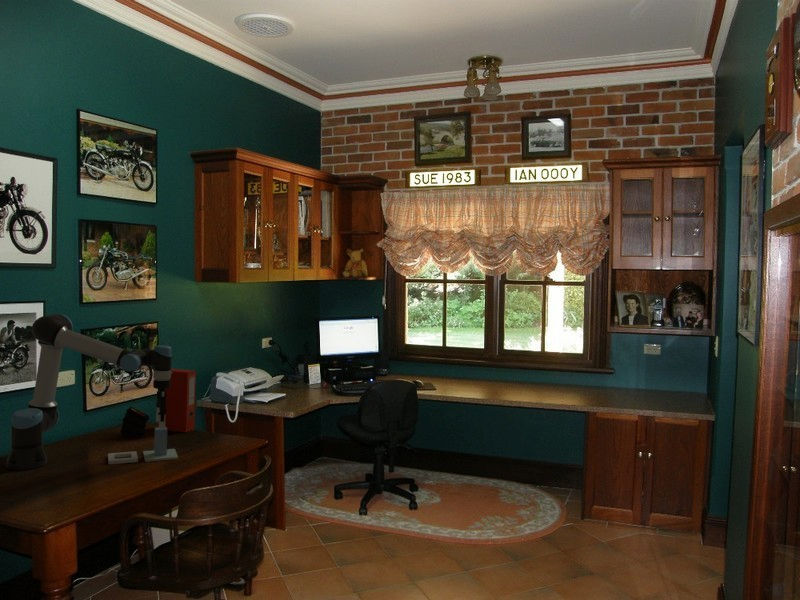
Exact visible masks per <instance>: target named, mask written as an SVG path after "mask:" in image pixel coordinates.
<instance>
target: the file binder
mask: <svg viewBox="0 0 800 600" xmlns="http://www.w3.org/2000/svg"><path fill="white" fill-rule="evenodd" d="M171 372H172V374H170V375H171V378H170V380H171V386H170V388H166V389H165V391H166V393H167V395H166V416H165V427H167V431H169V430H170V431H169V432H177V431H178V433H185V432H187V433H189V432H191V431H190V430H192V431H194V430H195V423H196V421H195V420H196V419H195V418H196V415H195V414H196V385H197V383H196V382H197V371H196V370H189V369H178V368H171ZM157 427H159V422H157ZM188 431H189V432H188Z"/></svg>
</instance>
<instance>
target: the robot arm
mask: <svg viewBox="0 0 800 600" xmlns="http://www.w3.org/2000/svg"><path fill="white" fill-rule="evenodd" d="M31 333H32V336H33V337H34V339H36V340H37V344H38V345H39V347H40V352H39V359H38V365H37V372H36V376H35V377H36V379H35V384H34V391H33V398H32V399H31V400H30V401H28V405H27V408H23V409H19V410H16V411H15V412H14V413H13V414H12V416H11V421H10V429H11V430H10V433H11V434H10V435H11V436H10V441H11V443H10V445H11V446H10V451H9V454H8V456H7V458H6V460H5V461H6V462H5V464H6V465H5V467H6V469H8V470H12V471H28V470H34V469H38V468H41V467H43V466H45V465H47V463H48V462H47V461H48V459H47V455H46V452H45V450H44V445H43V434H45V433H47V432H49V431H51V430H52V429H53V428H55V426H56V425H57V423H58V422H59V420H60V412H59V410H58V406H59V405H58V404H59V403H58V402H57V401H56V400H55V399H56V394H57V388H58V387H57V386H58V380H59V374H60V368H61V362H62V361H61V360H62V354H63V349H64V348H65V349H68V350H71V351H75V352H77V353H80V354H83V355H86V356H89V357H92V358H95V359H96V360H97V359H98V360H100V361H103V362H106V363H110V364H111V365H115V366H118V367H119V368H121V369H122V370H124V371H126V372H134V371H137V370H138V369H140V368H141V367H153V375H152V378H153V381H152V382H153V383H152V387H153V388H154V389H155V390H156V389H157V390H156V403H155V405H156V414H155V421H156V422H157V423H158V422H159V429H164V428H165V416H166V395H167V393H166V391H165V389H166V388H170V386H171V380H170V378H171V375H170V374H172V372H171V369H172V357H173V354H172V352H173V351H172V347H171V346H170V345H167V344H163V345H162V344H160V345H155V346H154V349H144V348H141V349H140V348H131V349H124V348H121V347H119V346H116V345H113V344H110V343H108V342H104V341H102V340H99V339H96V338H93V337H90V336H88V335H84V334H82V333H78V332H76V331H74V326H73V322H72V320H71V318H69V317H68V316H67V315H66V314H61V313H52V314H49V315H43V316H40V317H38V318H37V319H36V320H35V321H34V322H33V323H32V326H31Z"/></svg>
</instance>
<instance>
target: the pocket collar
mask: <svg viewBox="0 0 800 600" xmlns="http://www.w3.org/2000/svg"><path fill="white" fill-rule="evenodd" d="M107 461H108V462H107V464H108V465H119V464H127V463H129V464H130V463H138V462H139V457H138V453H137V451H124V452H121V451H120V452H112V453H107Z"/></svg>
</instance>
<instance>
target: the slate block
mask: <svg viewBox="0 0 800 600" xmlns="http://www.w3.org/2000/svg"><path fill="white" fill-rule="evenodd" d="M153 443H154V447H153V450H154V454H155V456H161V455H167V449H168V448H167V447H168V430H167V427H165V428H164V429H159V427H158V426H156V427H154V442H153Z"/></svg>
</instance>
